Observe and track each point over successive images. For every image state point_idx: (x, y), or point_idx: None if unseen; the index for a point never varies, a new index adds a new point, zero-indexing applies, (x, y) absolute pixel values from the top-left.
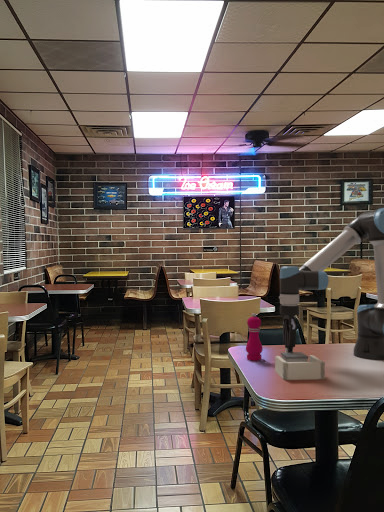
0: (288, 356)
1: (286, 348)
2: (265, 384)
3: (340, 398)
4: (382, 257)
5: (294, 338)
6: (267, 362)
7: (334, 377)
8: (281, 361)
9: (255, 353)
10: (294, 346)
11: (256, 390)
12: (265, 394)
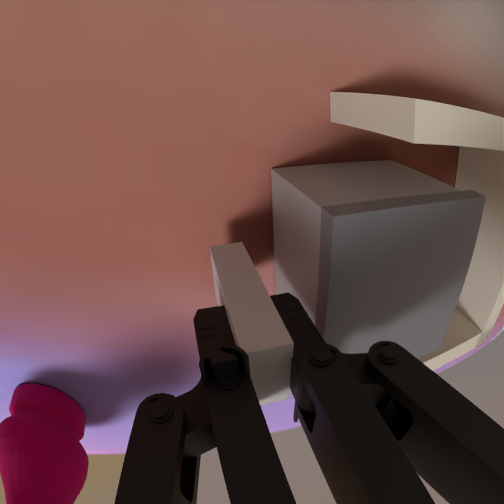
0: (438, 339)
1: (287, 391)
2: None
3: None
4: None
5: (475, 422)
6: (98, 366)
7: (456, 42)
8: (459, 354)
9: (78, 441)
10: (397, 349)
11: (467, 355)
12: (491, 333)
